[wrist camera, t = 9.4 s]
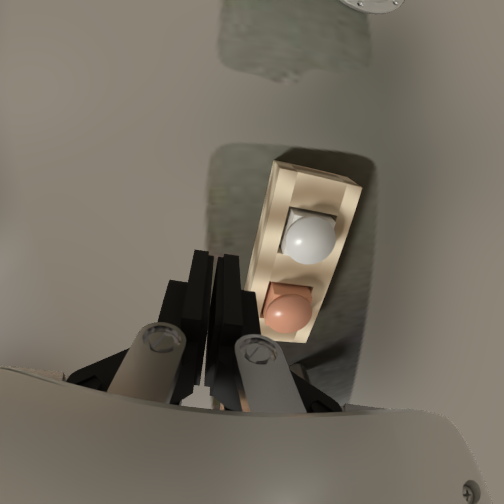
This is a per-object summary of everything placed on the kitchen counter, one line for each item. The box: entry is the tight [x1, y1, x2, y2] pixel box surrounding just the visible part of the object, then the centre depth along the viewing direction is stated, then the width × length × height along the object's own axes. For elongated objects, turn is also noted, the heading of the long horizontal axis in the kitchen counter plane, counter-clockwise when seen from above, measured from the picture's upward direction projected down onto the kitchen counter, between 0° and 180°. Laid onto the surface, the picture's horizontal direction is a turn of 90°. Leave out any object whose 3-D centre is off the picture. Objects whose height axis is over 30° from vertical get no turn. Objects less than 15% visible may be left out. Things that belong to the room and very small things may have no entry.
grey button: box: [280, 206, 336, 265], centre depth 36 cm, size 6×6×6 cm
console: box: [244, 160, 362, 343], centre depth 40 cm, size 24×10×5 cm, turn 169°
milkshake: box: [289, 363, 312, 385], centre depth 49 cm, size 5×5×10 cm
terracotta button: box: [262, 281, 313, 333], centre depth 40 cm, size 6×6×6 cm
